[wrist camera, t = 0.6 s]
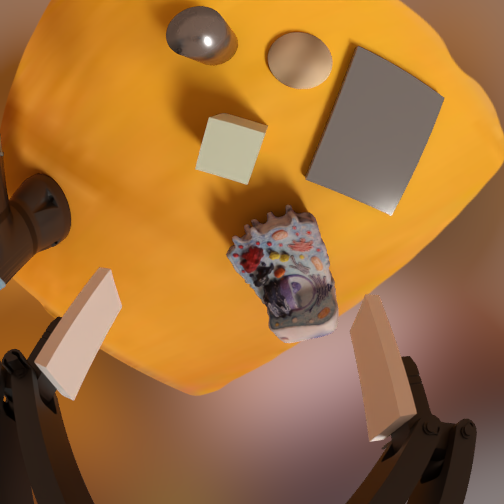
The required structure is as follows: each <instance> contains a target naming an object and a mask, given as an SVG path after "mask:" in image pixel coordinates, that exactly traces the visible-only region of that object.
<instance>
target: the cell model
mask: <svg viewBox="0 0 504 504" xmlns="http://www.w3.org/2000/svg"><path fill="white" fill-rule="evenodd" d="M251 223H252V225H253V227H250V226H249V225H248V224H246V225H244V229H245V232H246V235H244V236H243V237H241V238H240V237H238V236H233V237H232V240H233V242H234V245H233V246H231V247H230V248H229V250H228V252H227V254H226V255H227V257H228V259H229V260H230V261H231V263H232V264H233V267H234V269H235V270H236V272H237V273H239V274H240V275H241V276H242V277H243V278H244V279H245V282H246V283H248V284H250V287H251V288H253V289H254V291H255V293H256V294H257V296H258V297H259V298H260V299H261V300H262V303H263V304H265V305H266V307H267V313H268V315H269V328H270V330H271V331H272V332H274V334H275V335H276V336H277V337H278V338H279V339H280V340H282V341H283V342H284V343H293V342H299V341H303V340H308V339H312V338H318V337H322V336H325V335H328V334H331V333H332V332H334V331H335V329H336V328H337V325H338V305H337V301H336V293H335V291H336V289H335V286H334V283H335V282H334V279H333V277H332V274H331V272H330V270H329V266H330V262H329V257H328V254H327V250H326V247H325V244H324V242H323V240H322V238H321V235H320V232H319V228H318V225H317V221H316V219H315V217H314V216H313V215H312V214H311V213H307V212H304V213H300V214H297V213H295V212H294V211H293V209H292V207H291V205H286V214H285V215H284V216H282V217H276V216H274V214H273V213H272V212H269V213H267V222H266V223H264V224H262V223H259V222H258V221H257V220H256V219H253V220H252V221H251Z"/></svg>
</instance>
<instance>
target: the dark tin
mask: <svg viewBox="0 0 504 504" xmlns="http://www.w3.org/2000/svg"><path fill="white" fill-rule="evenodd" d="M166 39H167V43H168V45H169V47H170V48H171V49H172V50H173V51H174V52H176V53H177V54H180V55H182V56H185V57H188V58H191V59H193V60H196V61H198V62H201V63H203V64H206V65H219V64H222V63H225V62H226V61H228V60H229V59H231V58H232V57H233V55H234V54H235V52H236V50H237V47H238V40H237V37H236V35H235V34H234V32H233V31H232V30H231V28H230V27H229V26H228V24H227V23H226V22H225V20H224V19H223V18H222V17H221V15H220V14H219V13H218V12H217V11H215V10H213V9H211V8H208V7H203V6H197V7H191V8H188V9H186V10H184V11H182V12H180V13H179V14H177V15H176V16H175V17H174V18H173V19H172V21H171V22H170V24H169V26H168V28H167V32H166Z"/></svg>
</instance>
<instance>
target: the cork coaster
mask: <svg viewBox="0 0 504 504" xmlns="http://www.w3.org/2000/svg"><path fill="white" fill-rule="evenodd" d="M268 64H269V67H270V70H271V72H272V73H273V75H274V76H275V77H276V79H278V80H279V81H280V82H281V83H283V84H285V85H286V86H289V87H292V88H296V89H308V88H312V87H315V86H318V85H319V84H321V83H322V82H324V81H325V80H326V79H327V77H328V76H329V74H330V72H331V69H332V56H331V53H330V51H329V49H328V48H327V46H326V45H325V44H324V43H323V42H322V41H321V40H320V39H318V38H317V37H315V36H313V35H310V34H307V33H302V32H294V33H289V34H285V35H283V36H281V37H280V38H278V39H277V40H276V41H275V42H274V43H273V44H272V46H271V48H270V50H269V53H268Z"/></svg>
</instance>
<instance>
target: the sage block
mask: <svg viewBox="0 0 504 504" xmlns="http://www.w3.org/2000/svg"><path fill="white" fill-rule="evenodd" d="M267 127H268V126H267V125H264V124H261V123H257V122H254V121H251V120H248V119H244V118H241V117H237V116H234V115H230V114H226V113H222V114H218V115H215V116H212V117H209V119H208V123H207V126H206V130H205V134H204V137H203V141H202V145H201V149H200V152H199V156H198V160H197V164H196V168H195V169H197V170H200V171H204V172H207V173H210V174H214V175H217V176H221V177H224V178H227V179H230V180H234V181H237V182H240V183H243V184H246V185H248V182H249V179H250V176H251V174H252V171H253V168H254V165H255V162H256V159H257V156H258V153H259V150H260V147H261V144H262V142H263V139H264V136H265V133H266V130H267Z"/></svg>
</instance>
